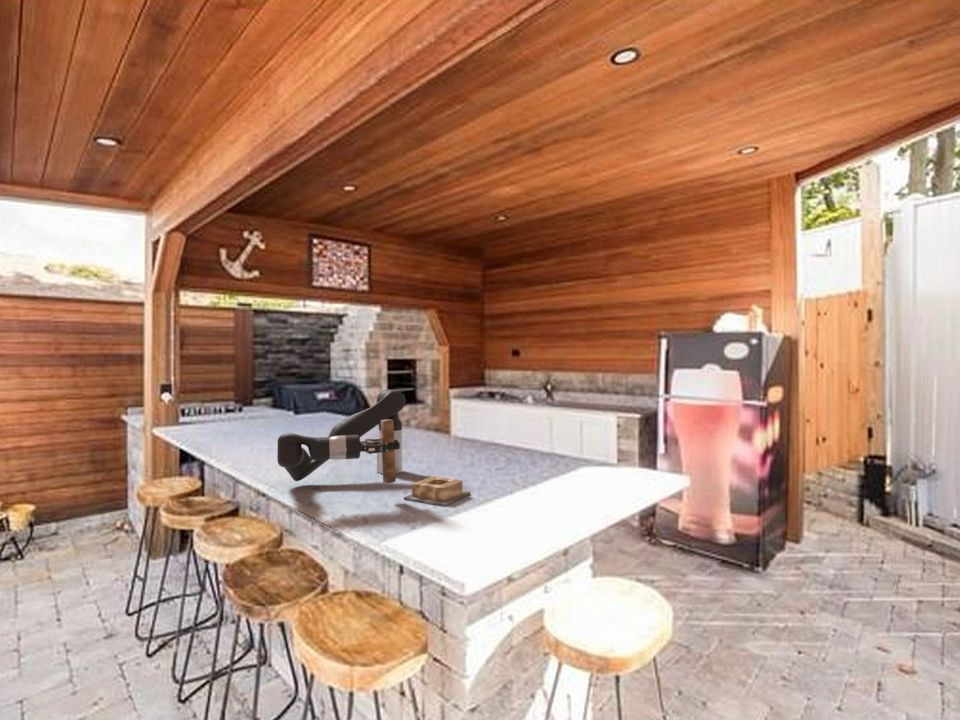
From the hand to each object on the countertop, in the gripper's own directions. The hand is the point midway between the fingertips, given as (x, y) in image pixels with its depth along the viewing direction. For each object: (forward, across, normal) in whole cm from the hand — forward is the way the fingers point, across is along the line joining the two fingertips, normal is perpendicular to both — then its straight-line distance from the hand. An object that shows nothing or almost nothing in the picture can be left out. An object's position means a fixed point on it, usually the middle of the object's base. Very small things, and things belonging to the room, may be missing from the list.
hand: (398, 444), depth 176 cm
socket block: (+13, 0, -18) cm, 23 cm away
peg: (-3, 0, -12) cm, 12 cm away
